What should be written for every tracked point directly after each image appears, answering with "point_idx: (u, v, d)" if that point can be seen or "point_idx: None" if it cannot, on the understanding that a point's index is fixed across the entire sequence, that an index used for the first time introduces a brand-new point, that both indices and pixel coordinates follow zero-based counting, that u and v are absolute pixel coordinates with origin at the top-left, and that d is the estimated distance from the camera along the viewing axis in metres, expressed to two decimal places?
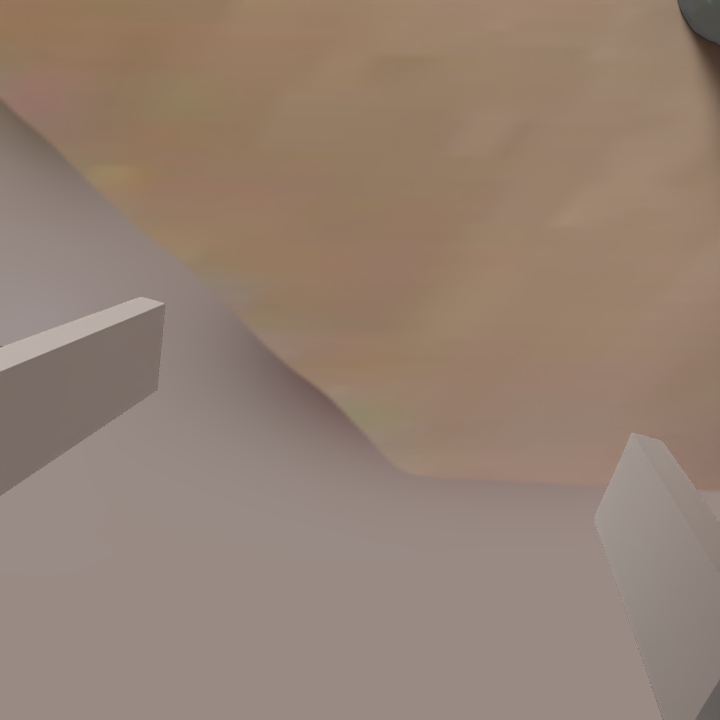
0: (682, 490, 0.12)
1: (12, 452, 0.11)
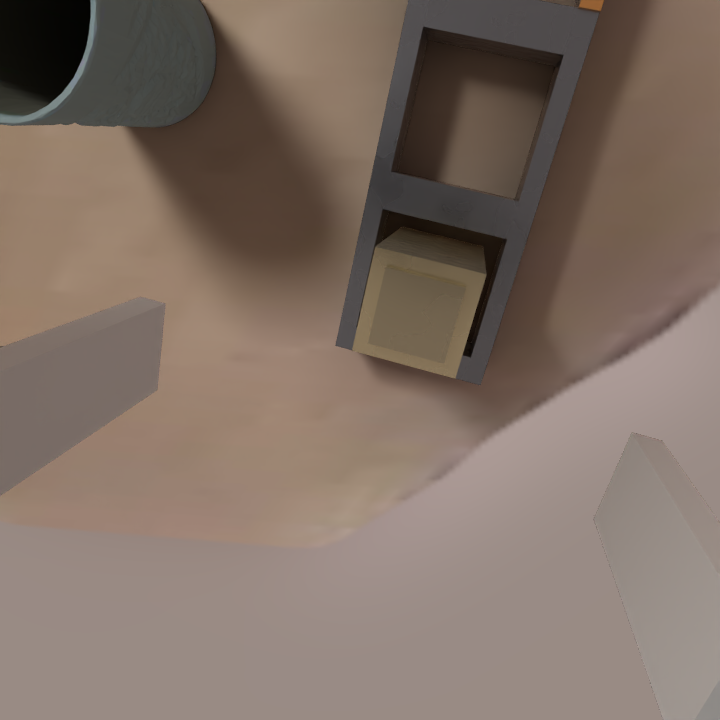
0: (682, 490, 0.12)
1: (12, 452, 0.11)
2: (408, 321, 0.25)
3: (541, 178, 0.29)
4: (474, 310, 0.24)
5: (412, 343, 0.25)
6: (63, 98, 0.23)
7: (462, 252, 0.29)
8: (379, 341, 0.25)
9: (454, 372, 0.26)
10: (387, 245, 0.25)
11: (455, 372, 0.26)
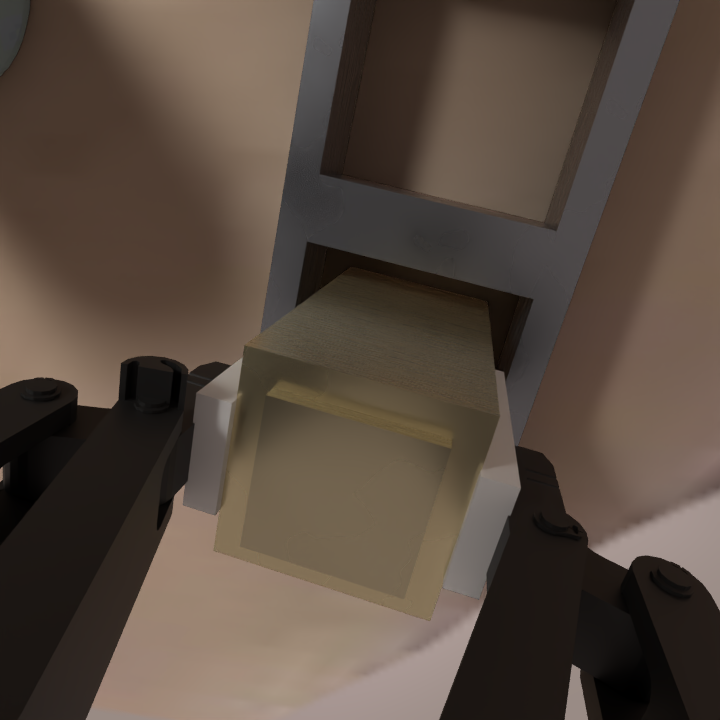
0: None
1: None
2: (322, 510, 0.11)
3: (601, 187, 0.15)
4: (471, 491, 0.11)
5: (335, 554, 0.11)
6: None
7: (449, 329, 0.15)
8: (264, 545, 0.12)
9: (428, 609, 0.12)
10: (282, 334, 0.12)
11: (430, 609, 0.12)
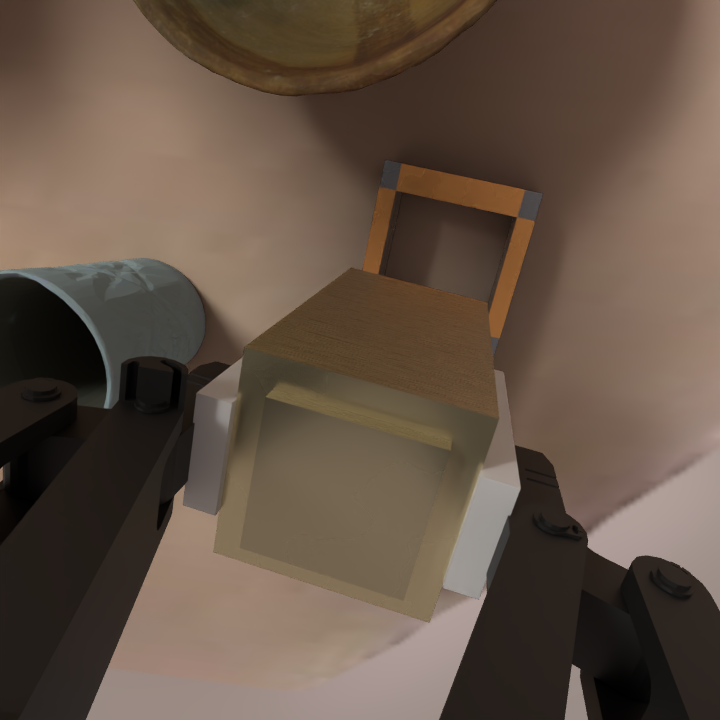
0: None
1: None
2: (322, 512, 0.11)
3: None
4: (470, 493, 0.11)
5: (334, 556, 0.11)
6: None
7: (449, 331, 0.15)
8: (264, 546, 0.12)
9: (427, 610, 0.12)
10: (282, 336, 0.12)
11: (429, 610, 0.12)
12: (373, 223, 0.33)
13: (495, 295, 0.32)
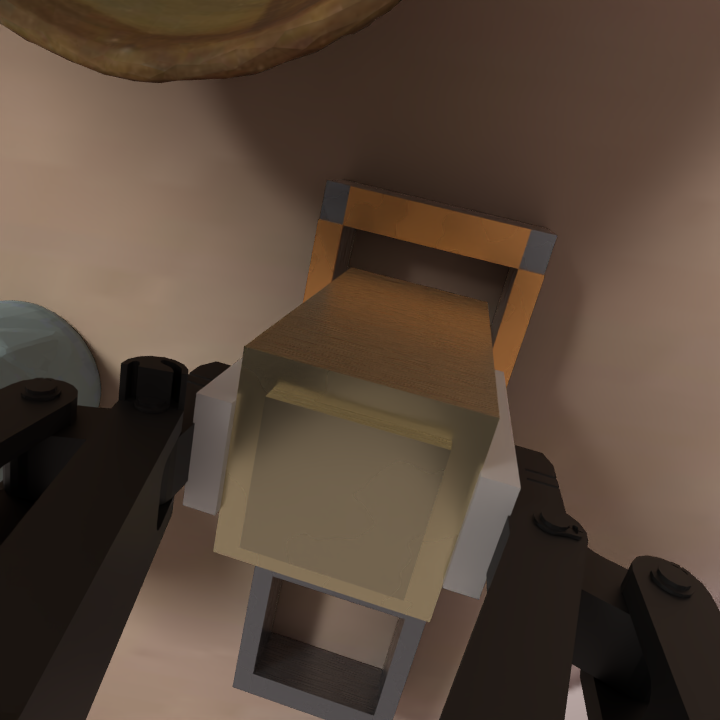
0: None
1: None
2: (322, 511, 0.11)
3: None
4: (471, 492, 0.11)
5: (334, 556, 0.11)
6: None
7: (449, 330, 0.15)
8: (264, 547, 0.12)
9: (427, 610, 0.12)
10: (282, 335, 0.12)
11: (430, 610, 0.12)
12: (311, 270, 0.23)
13: None
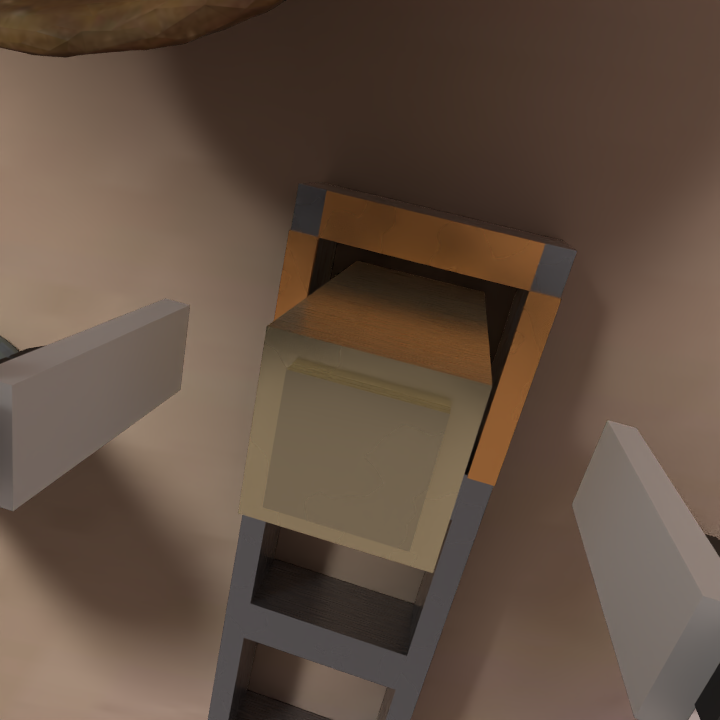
0: (651, 473, 0.12)
1: (50, 450, 0.11)
2: (336, 472, 0.12)
3: (432, 637, 0.23)
4: (468, 453, 0.12)
5: (347, 512, 0.13)
6: None
7: (448, 315, 0.16)
8: (284, 505, 0.13)
9: (431, 562, 0.13)
10: (299, 317, 0.13)
11: (433, 562, 0.13)
12: (281, 291, 0.19)
13: (488, 418, 0.19)
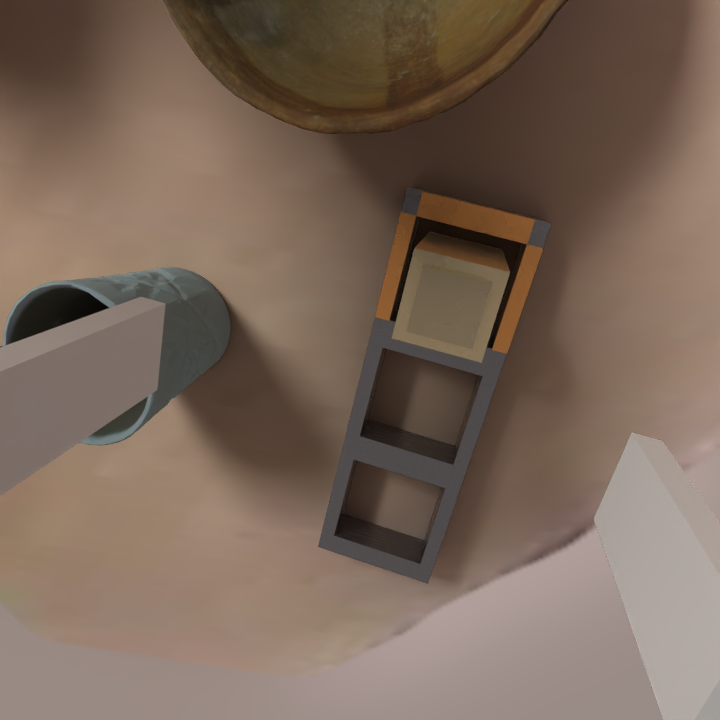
0: (682, 490, 0.12)
1: (12, 452, 0.11)
2: (441, 312, 0.29)
3: (469, 451, 0.39)
4: (499, 303, 0.28)
5: (445, 331, 0.29)
6: (126, 435, 0.33)
7: (486, 254, 0.33)
8: (416, 330, 0.29)
9: (481, 357, 0.29)
10: (423, 247, 0.29)
11: (481, 357, 0.29)
12: (394, 245, 0.35)
13: (504, 314, 0.35)
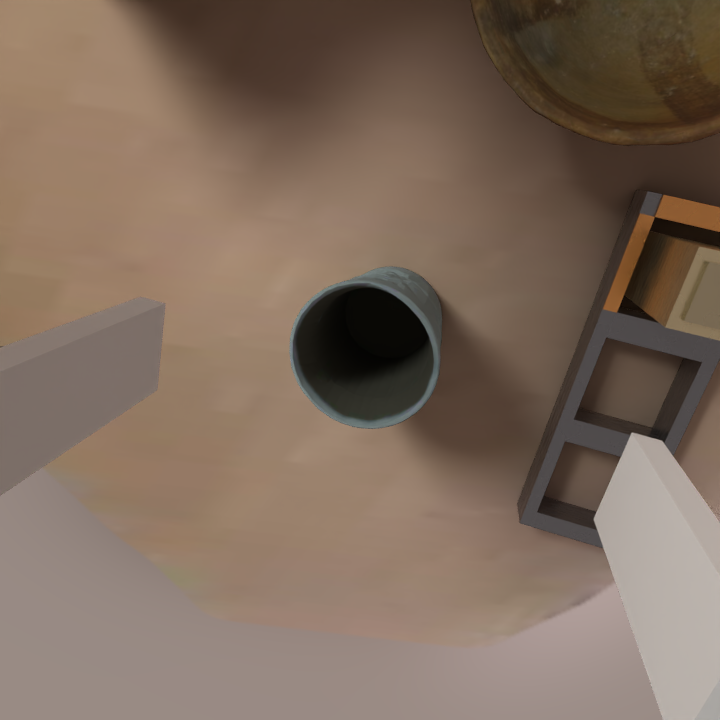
0: (682, 490, 0.12)
1: (12, 452, 0.11)
2: None
3: (680, 431, 0.42)
4: None
5: None
6: (403, 419, 0.37)
7: None
8: (694, 319, 0.33)
9: None
10: (698, 245, 0.33)
11: None
12: (630, 243, 0.39)
13: None
